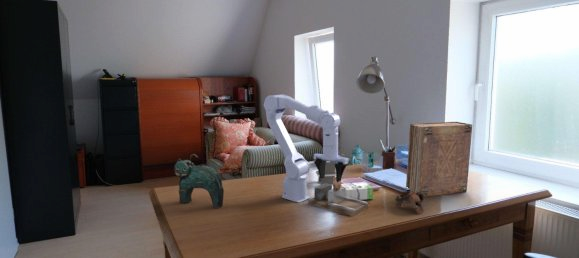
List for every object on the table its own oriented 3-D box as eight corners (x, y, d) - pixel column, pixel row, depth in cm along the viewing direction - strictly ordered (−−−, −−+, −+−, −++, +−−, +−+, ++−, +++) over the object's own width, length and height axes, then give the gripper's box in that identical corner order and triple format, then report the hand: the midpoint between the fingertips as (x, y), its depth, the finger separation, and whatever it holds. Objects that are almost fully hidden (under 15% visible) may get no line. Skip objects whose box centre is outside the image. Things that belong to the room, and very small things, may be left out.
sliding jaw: (327, 203, 147) (328, 179, 146) (339, 197, 153) (339, 175, 152) (334, 204, 145) (335, 181, 144) (345, 199, 151) (346, 176, 150)
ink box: (373, 187, 156) (346, 189, 153) (373, 199, 156) (346, 201, 154) (365, 181, 164) (339, 183, 161) (364, 192, 165) (338, 194, 162)
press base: (308, 203, 151) (308, 187, 150) (325, 196, 160) (325, 181, 159) (352, 216, 138) (352, 199, 137) (368, 207, 148) (368, 191, 146)
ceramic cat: (174, 203, 150) (172, 153, 147) (184, 198, 156) (182, 150, 153) (218, 210, 143) (217, 158, 140) (226, 204, 149) (226, 154, 146)
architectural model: (310, 190, 169) (310, 166, 168) (303, 179, 186) (303, 157, 184) (350, 188, 172) (351, 164, 170) (340, 178, 188) (340, 156, 187)
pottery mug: (415, 218, 138) (404, 197, 139) (397, 221, 146) (387, 201, 147) (434, 203, 145) (424, 184, 146) (416, 207, 153) (406, 188, 154)
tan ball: (324, 201, 151) (322, 192, 151) (329, 198, 154) (327, 190, 154) (332, 200, 149) (330, 191, 149) (337, 198, 151) (334, 189, 151)
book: (419, 197, 160) (423, 126, 155) (405, 190, 168) (409, 123, 164) (467, 191, 168) (472, 124, 163) (451, 185, 177) (456, 121, 172)
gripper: (352, 145, 144) (352, 180, 146) (321, 141, 153) (321, 174, 155) (342, 148, 139) (342, 184, 141) (310, 144, 148) (310, 178, 150)
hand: (330, 179), depth 148 cm, fingers open, 7 cm apart
